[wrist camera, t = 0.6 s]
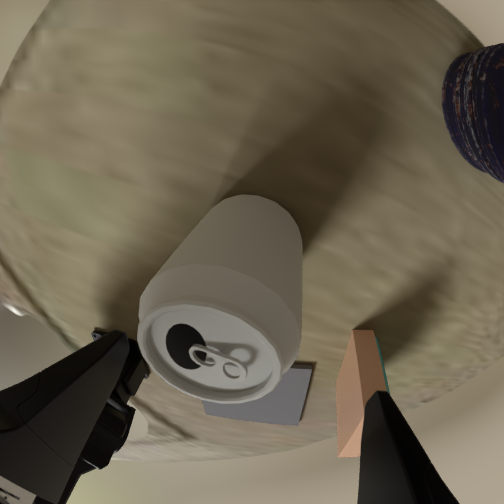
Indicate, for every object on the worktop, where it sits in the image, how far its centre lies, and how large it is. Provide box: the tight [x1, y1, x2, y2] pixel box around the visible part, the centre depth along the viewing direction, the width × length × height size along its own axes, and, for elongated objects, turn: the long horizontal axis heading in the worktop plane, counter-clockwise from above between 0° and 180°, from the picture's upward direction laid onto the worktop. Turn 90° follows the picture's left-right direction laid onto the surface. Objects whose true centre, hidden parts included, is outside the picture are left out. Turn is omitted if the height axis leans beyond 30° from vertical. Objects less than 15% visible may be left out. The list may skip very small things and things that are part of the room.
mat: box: [202, 364, 312, 426], centre depth 30 cm, size 12×12×1 cm
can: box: [137, 195, 302, 404], centre depth 16 cm, size 8×8×12 cm
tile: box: [336, 330, 390, 457], centre depth 21 cm, size 2×8×9 cm, turn 0°
